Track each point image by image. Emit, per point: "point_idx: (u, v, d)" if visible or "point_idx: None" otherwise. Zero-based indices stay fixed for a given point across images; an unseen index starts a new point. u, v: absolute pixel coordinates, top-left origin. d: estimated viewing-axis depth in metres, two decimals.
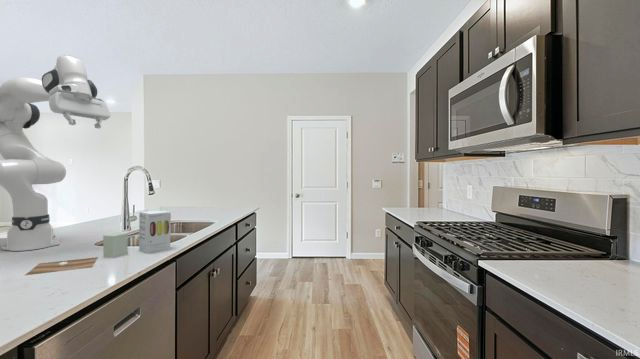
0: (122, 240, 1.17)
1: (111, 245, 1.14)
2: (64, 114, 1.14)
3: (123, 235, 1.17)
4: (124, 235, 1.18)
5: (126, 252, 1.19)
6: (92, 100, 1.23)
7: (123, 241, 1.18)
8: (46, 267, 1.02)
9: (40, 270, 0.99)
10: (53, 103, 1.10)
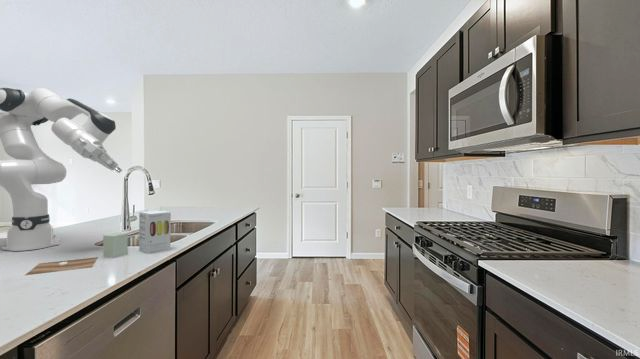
0: (122, 240, 1.17)
1: (111, 245, 1.14)
2: None
3: (123, 235, 1.17)
4: (124, 235, 1.18)
5: (126, 252, 1.19)
6: (85, 150, 1.19)
7: (123, 241, 1.18)
8: (46, 267, 1.02)
9: (40, 270, 0.99)
10: None
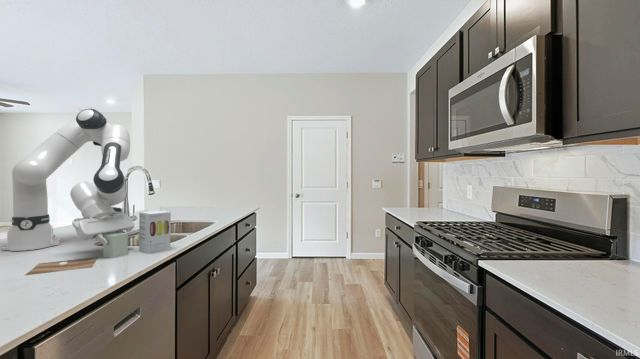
0: (122, 240, 1.17)
1: (111, 245, 1.14)
2: None
3: (123, 235, 1.17)
4: (124, 235, 1.18)
5: (126, 252, 1.19)
6: None
7: (123, 241, 1.18)
8: (46, 267, 1.02)
9: (40, 270, 0.99)
10: None
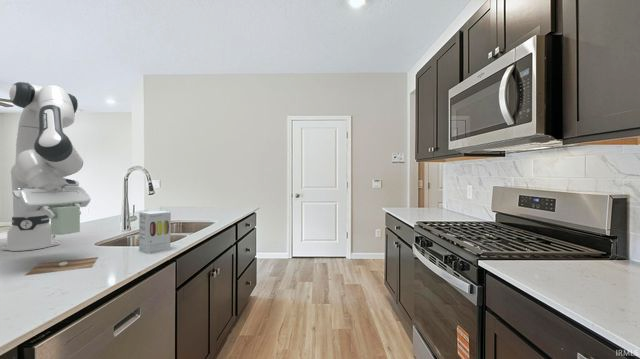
0: (73, 214, 1.04)
1: (59, 218, 1.01)
2: None
3: (74, 208, 1.05)
4: (75, 208, 1.05)
5: (78, 228, 1.06)
6: None
7: (75, 216, 1.05)
8: (46, 267, 1.02)
9: (40, 270, 0.99)
10: None
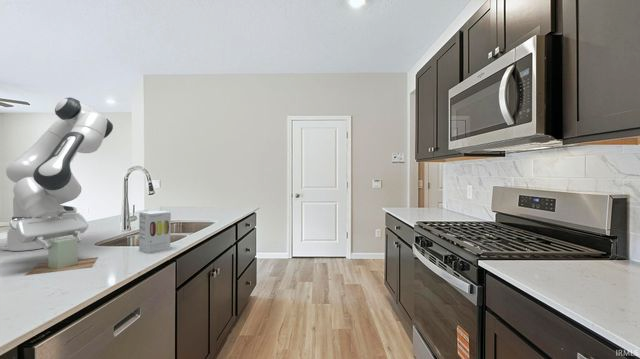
0: (71, 246, 1.04)
1: (56, 252, 1.00)
2: None
3: (72, 240, 1.04)
4: (73, 240, 1.05)
5: (76, 260, 1.06)
6: None
7: (72, 248, 1.04)
8: (46, 267, 1.02)
9: (40, 270, 0.99)
10: None
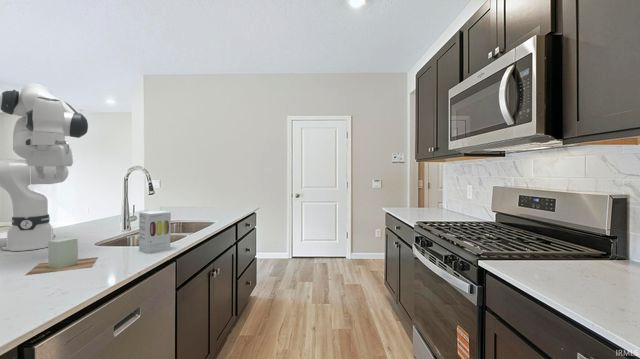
0: (71, 246, 1.04)
1: (56, 252, 1.00)
2: None
3: (72, 240, 1.04)
4: (73, 240, 1.05)
5: (76, 260, 1.06)
6: (50, 147, 1.08)
7: (72, 248, 1.04)
8: (46, 267, 1.02)
9: (40, 270, 0.99)
10: None
